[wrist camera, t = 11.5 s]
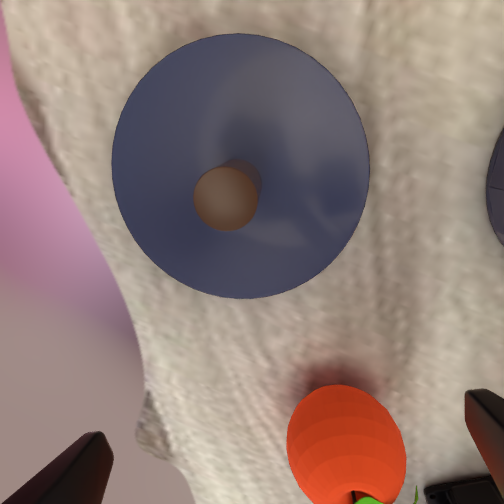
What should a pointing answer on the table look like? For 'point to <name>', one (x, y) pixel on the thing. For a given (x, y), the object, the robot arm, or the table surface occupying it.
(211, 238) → the tin lid
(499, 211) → the tin
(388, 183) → the table surface
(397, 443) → the clementine
